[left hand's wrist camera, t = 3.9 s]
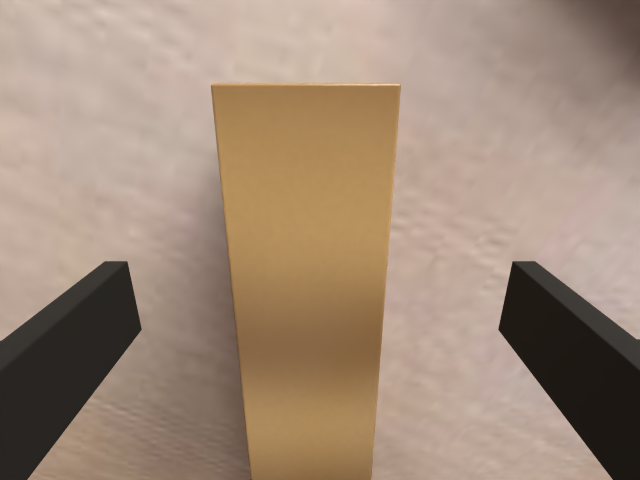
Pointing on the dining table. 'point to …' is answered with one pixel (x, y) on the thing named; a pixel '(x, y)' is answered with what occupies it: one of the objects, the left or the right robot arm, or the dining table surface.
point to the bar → (308, 266)
